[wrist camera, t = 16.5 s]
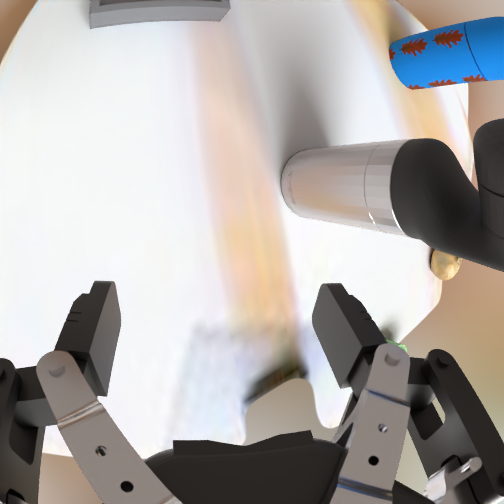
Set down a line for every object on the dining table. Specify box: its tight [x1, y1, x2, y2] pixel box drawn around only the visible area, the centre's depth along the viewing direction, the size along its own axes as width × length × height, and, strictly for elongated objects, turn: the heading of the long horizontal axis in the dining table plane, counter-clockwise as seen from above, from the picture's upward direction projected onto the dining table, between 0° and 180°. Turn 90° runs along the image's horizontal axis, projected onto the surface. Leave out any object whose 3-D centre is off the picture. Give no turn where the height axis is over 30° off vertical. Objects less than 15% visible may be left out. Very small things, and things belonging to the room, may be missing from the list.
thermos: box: [389, 17, 504, 89], centre depth 34 cm, size 11×11×25 cm
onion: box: [431, 250, 462, 280], centre depth 55 cm, size 8×8×7 cm
